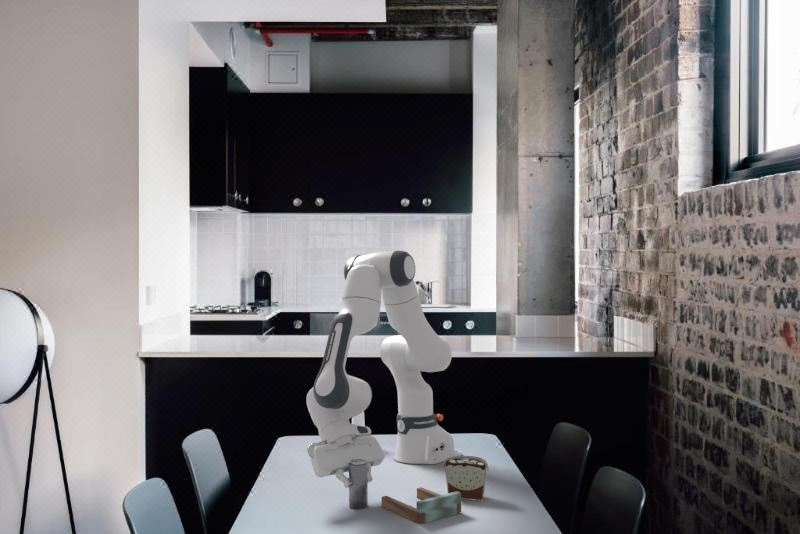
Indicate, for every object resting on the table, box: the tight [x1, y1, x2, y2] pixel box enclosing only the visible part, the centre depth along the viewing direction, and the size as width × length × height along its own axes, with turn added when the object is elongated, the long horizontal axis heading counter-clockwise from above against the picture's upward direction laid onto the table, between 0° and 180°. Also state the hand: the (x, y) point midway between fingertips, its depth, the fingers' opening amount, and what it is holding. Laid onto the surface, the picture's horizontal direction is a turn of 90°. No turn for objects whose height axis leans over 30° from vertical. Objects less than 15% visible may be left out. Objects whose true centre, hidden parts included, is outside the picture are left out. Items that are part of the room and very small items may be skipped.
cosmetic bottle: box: [351, 411, 366, 426], centre depth 252 cm, size 6×6×22 cm
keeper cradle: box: [381, 486, 462, 525], centre depth 188 cm, size 13×16×5 cm
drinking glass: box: [348, 459, 369, 510], centre depth 191 cm, size 5×5×12 cm
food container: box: [442, 455, 489, 501], centre depth 199 cm, size 12×6×10 cm, turn 71°
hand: (359, 483), depth 191 cm, fingers closed on drinking glass, 5 cm apart
